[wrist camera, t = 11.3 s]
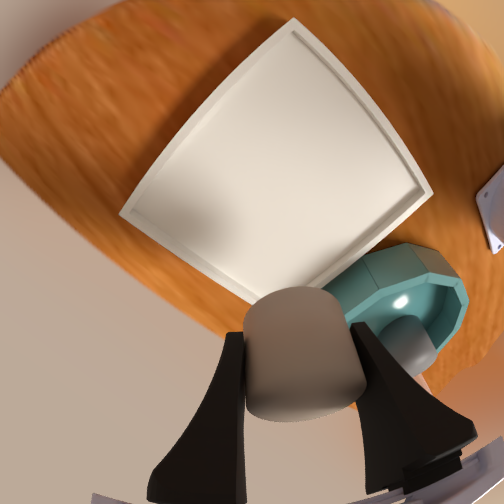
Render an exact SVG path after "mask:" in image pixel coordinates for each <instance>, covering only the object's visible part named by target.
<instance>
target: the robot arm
mask: <svg viewBox="0 0 504 504" xmlns="http://www.w3.org/2000/svg"><path fill="white" fill-rule="evenodd" d="M476 202H477V205H478V208H479V211H480V214H481V217H482V220H483V224H484V227H485V230H486V234H487V238H488V241H489V245H490V249H491V252H492V253H493V254H496V253H497V252H498V251H499V250H500V249H501V248H502V247H503V246H504V165H503V166H502V167H501V168H500V169H499V171H498V172H497V173H496V174H495V175H494V176H493V177H492V178H491V179H490V180H489V182H488V183H487V184H486V185H485V186H484V187H483V188H482V189H481V190H480V191H479V192H478V193H477V195H476ZM350 333H351V336H352V339H353V342H354V345H355V348H356V351H357V354H358V357H359V360H360V363H361V366H362V369H363V372H364V375H365V378H366V381H367V386H366V389H365V391H364V392H363V394H362V395H361V396H360V397H359V398H358V399H357V400H356V401H355V402H356V405H357V409H358V412H359V417H360V422H361V429H362V435H363V444H364V455H365V476H366V477H365V478H366V479H365V480H366V481H365V482H366V483H365V489H366V494H367V495H369V494H372V493H375V492H379V491H382V490H385V489H388V490H389V492H387V493H384V494H381V495H378V496H374V497H371V498H368V499H364V500H360V501H357V502H353V503H348V504H391V503H393V502H396V501H399V500H402V499H404V498H406V500H405V502H404V503H401V504H473V503H474V502H476V501H477V500H478V499H479V498H481V497H482V496H483V495H484V494H486V493H487V492H488V491H489V490H490V489H492V488H493V487H494V486H496V485H497V484H498V483H499V482H500V481H502V480H503V479H504V441H503V438H502V436H500V437H499V438H497V439H496V440H494V441H492V442H491V443H490V444H488V445H486V446H485V447H483V448H481V449H480V450H478V451H477V452H475V453H473V454H472V455H470V456H468V457H466V458H465V459H463V460H461V461H460V457H459V456H461V455H462V451H461V449H462V448H463V447H465V446H466V445H468V444H470V443H471V442H472V441H474V440H475V439H476V438H477V437H478V435H477V432H476V429H475V427H474V424H473V422H472V421H471V420H470V419H468V418H466V417H464V416H462V415H460V414H458V413H457V412H455V411H453V410H452V409H450V408H449V407H447V406H446V405H444V404H443V403H442V402H440V401H439V400H438V399H436V398H435V397H434V396H432V395H431V394H430V393H429V392H427V391H426V390H425V389H424V388H423V387H422V386H421V385H420V384H418V383H417V382H416V381H415V380H414V379H413V378H412V377H411V376H410V375H409V374H408V373H407V372H406V371H405V370H404V368H403V367H402V366H401V365H400V364H399V363H398V362H397V361H396V360H395V358H394V357H393V356H392V355H391V354H390V353H389V351H388V350H387V349H386V348H385V346H384V345H383V344H382V343H381V342H380V340H379V339H378V338H377V336H376V335H375V334H374V333H373V331H372V330H371V329H370V328H369V326H368V325H367V324H366V323H365V322H364V321H363V322H355V323H351V327H350ZM245 395H246V393H245V357H244V335H243V332H228V333H227V334H226V338H225V343H224V347H223V351H222V354H221V357H220V360H219V363H218V366H217V369H216V371H215V374H214V377H213V379H212V381H211V383H210V386H209V388H208V390H207V392H206V395H205V397H204V399H203V401H202V403H201V404H200V406H199V408H198V410H197V412H196V413H195V415H194V417H193V418H192V420H191V422H190V423H189V425H188V427H187V428H186V430H185V431H184V433H183V434H182V436H181V437H180V438H179V439H178V441H177V442H176V444H175V445H174V446H173V447H172V449H171V450H170V451H169V453H168V454H167V455H166V456H165V457H164V459H163V460H162V461H161V462H160V463H159V464H158V465H157V466H156V468H155V469H154V470H153V472H152V474H151V476H150V479H149V482H148V487H147V500H148V501H149V502H153V503H157V504H246V503H247V494H246V477H245V459H244V458H245V456H244V433H243V432H244V430H243V429H244V411H245ZM91 504H131V503H127V502H123V501H119V500H115V499H112V498H108V497H105V496H102V495H98V494H95V493H93V494H92V501H91Z"/></svg>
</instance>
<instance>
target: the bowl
mask: <svg viewBox="0 0 504 504" xmlns="http://www.w3.org/2000/svg"><path fill="white" fill-rule="evenodd" d="M321 289H322V290H325V291H327V292H329V293H330V294H332V295H333V296H334V297H335V298H336V299H337V300H338V302H339V303H340V306H341V308H342V311H343V314H344V316H345V319H346V322H347V325H348V328H349V330H350V327H351V323H355V322H363V321H364V322H365V323H366V324H367V325H368V326H369V328H370V329H371V330H372V331H373V333H374V334H375V335H376V336H377V337H378V335H379V333H380V332H381V331H382V329H383V328H384V327H385V326H387V325H388V324H389V323H391V322H392V321H394V320H396V319H398V318H400V317H403V316H407V315H415V316H417V317H418V318H419V319H420V321H421V323H422V324H423V326H424V328H425V330H426V332H427V334H428V336H429V338H430V339H431V341H432V343H433V345H434V347H435V349H436V351H437V354H438V353H439V351H440V350H441V349H442V348H443V347H444V346H445V345H446V344H447V343H448V341H449V340H450V339H451V338H452V337H453V336H454V334H455V333H456V332H457V331H458V330H459V328H460V326H461V323H462V321H463V318H464V315H465V312H466V310H467V307H468V304H469V298H468V295H467V293H466V290H465V288H464V285H463V282H462V280H461V278H460V277H459V276H458V274H457V273H456V272H455V271H454V269H453V268H452V267H451V266H450V264H449V263H448V262H447V261H446V260H445V258H444V257H443V256H442V255H441V254H440V252H439V251H436V250H432V249H429V248H425V247H422V246H418V245H414V244H410V243H403V244H400V245H397V246H393V247H390V248H387V249H383V250H380V251H377V252H373V253H370V254H366V255H363V256H362V257H360V258H359V259H358V260H357V261H355V262H354V263H353V264H352V265H350V266H349V267H348V268H347V269H345V270H344V271H343V272H342V273H340V274H339V275H338V276H336V277H335V278H334V279H333V280H331V281H330V282H329V283H327V284H326V285H325V286H324V287H322V288H321Z"/></svg>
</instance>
